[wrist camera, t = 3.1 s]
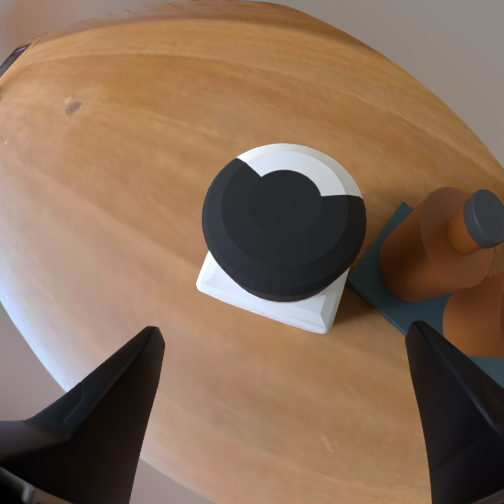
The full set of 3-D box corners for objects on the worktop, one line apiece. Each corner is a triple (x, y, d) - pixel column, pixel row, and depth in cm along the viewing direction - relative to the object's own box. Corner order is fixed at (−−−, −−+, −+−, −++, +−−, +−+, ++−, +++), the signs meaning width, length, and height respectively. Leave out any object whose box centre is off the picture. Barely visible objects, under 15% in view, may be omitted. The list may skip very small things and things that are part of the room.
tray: (495, 425, 14) (500, 427, 13) (343, 281, 20) (346, 279, 19) (531, 356, 15) (536, 356, 14) (398, 205, 21) (403, 200, 20)
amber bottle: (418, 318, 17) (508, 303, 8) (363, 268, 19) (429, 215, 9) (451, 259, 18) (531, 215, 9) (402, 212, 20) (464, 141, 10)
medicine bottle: (312, 332, 19) (358, 341, 8) (221, 300, 20) (149, 267, 9) (340, 243, 21) (396, 153, 9) (254, 215, 22) (227, 108, 10)
